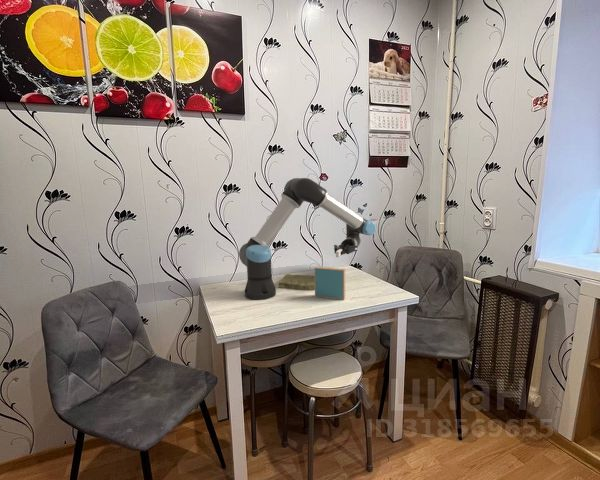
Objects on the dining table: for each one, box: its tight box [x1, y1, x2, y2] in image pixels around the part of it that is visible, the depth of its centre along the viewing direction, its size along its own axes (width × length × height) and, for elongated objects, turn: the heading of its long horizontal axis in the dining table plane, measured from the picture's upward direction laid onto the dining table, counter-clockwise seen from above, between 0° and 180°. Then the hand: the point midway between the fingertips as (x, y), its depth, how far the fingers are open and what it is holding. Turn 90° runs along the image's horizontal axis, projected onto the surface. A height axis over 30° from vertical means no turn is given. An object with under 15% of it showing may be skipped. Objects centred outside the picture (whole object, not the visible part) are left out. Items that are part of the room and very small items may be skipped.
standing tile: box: [314, 266, 346, 301], centre depth 151 cm, size 14×3×14 cm, turn 68°
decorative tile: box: [278, 273, 315, 291], centre depth 172 cm, size 19×20×4 cm
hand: (337, 254), depth 159 cm, fingers closed
